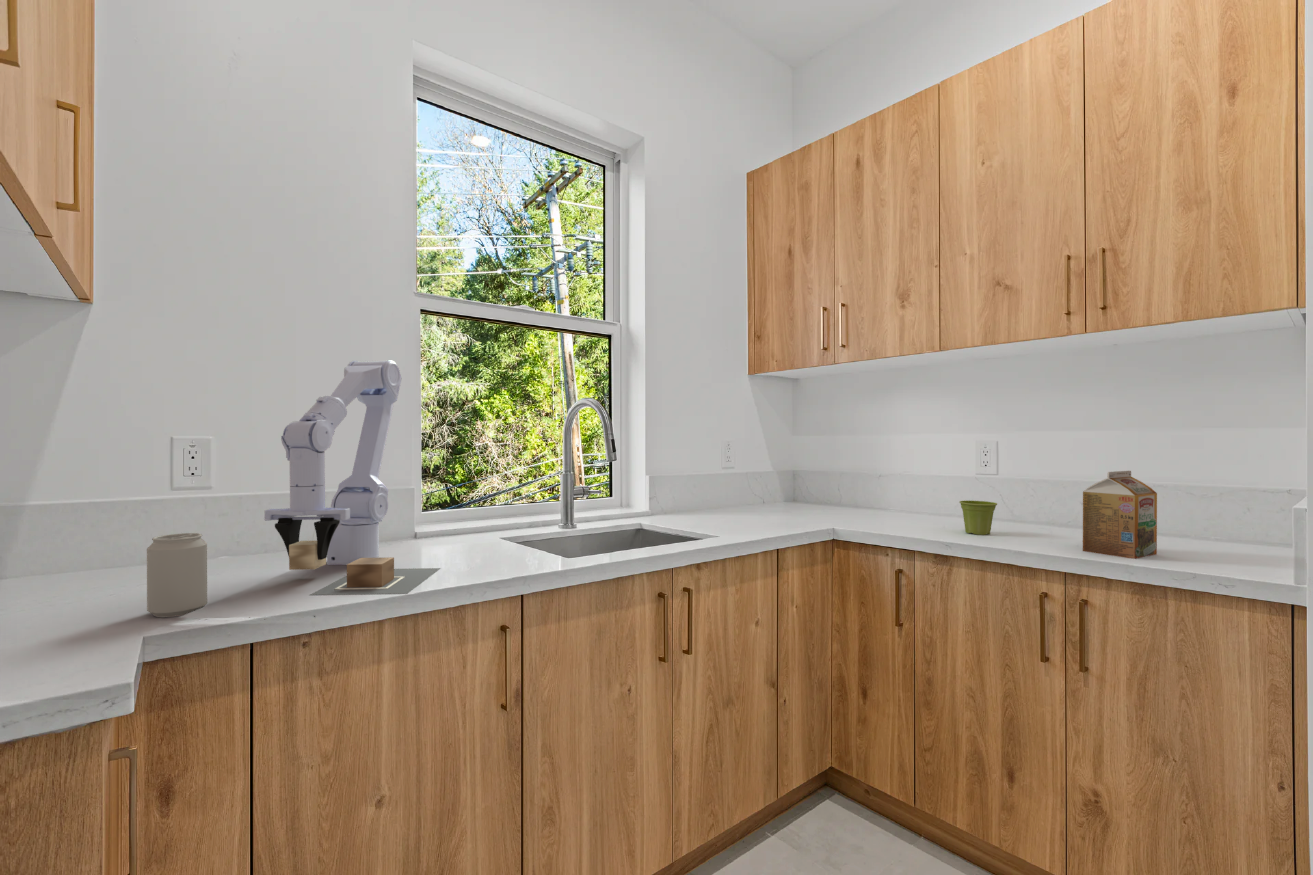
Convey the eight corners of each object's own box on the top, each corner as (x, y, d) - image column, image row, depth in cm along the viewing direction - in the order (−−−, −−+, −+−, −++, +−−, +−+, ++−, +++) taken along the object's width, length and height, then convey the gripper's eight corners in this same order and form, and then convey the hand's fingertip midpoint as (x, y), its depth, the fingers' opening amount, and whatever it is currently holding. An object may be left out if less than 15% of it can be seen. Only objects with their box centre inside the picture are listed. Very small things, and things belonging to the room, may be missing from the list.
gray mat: (309, 599, 105) (309, 594, 105) (359, 573, 125) (359, 568, 125) (407, 598, 106) (407, 592, 106) (440, 572, 126) (440, 567, 126)
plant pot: (990, 531, 178) (990, 500, 178) (1002, 536, 169) (1002, 504, 169) (955, 530, 180) (955, 500, 180) (964, 535, 171) (964, 503, 171)
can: (156, 608, 100) (156, 532, 100) (212, 603, 103) (212, 530, 103) (139, 621, 93) (139, 540, 93) (200, 615, 96) (200, 537, 96)
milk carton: (1134, 558, 139) (1134, 473, 139) (1082, 551, 148) (1083, 470, 148) (1156, 554, 145) (1157, 471, 144) (1105, 547, 154) (1105, 469, 154)
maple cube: (289, 569, 114) (289, 545, 114) (301, 564, 119) (301, 540, 119) (314, 569, 115) (314, 544, 114) (326, 564, 119) (326, 540, 119)
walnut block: (346, 587, 110) (346, 564, 110) (360, 579, 116) (360, 557, 116) (381, 586, 111) (381, 564, 110) (394, 578, 117) (394, 557, 116)
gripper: (254, 487, 112) (255, 563, 112) (338, 487, 113) (338, 562, 113) (276, 484, 119) (276, 555, 119) (354, 483, 120) (355, 554, 120)
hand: (308, 558), depth 117 cm, fingers closed on maple cube, 4 cm apart
